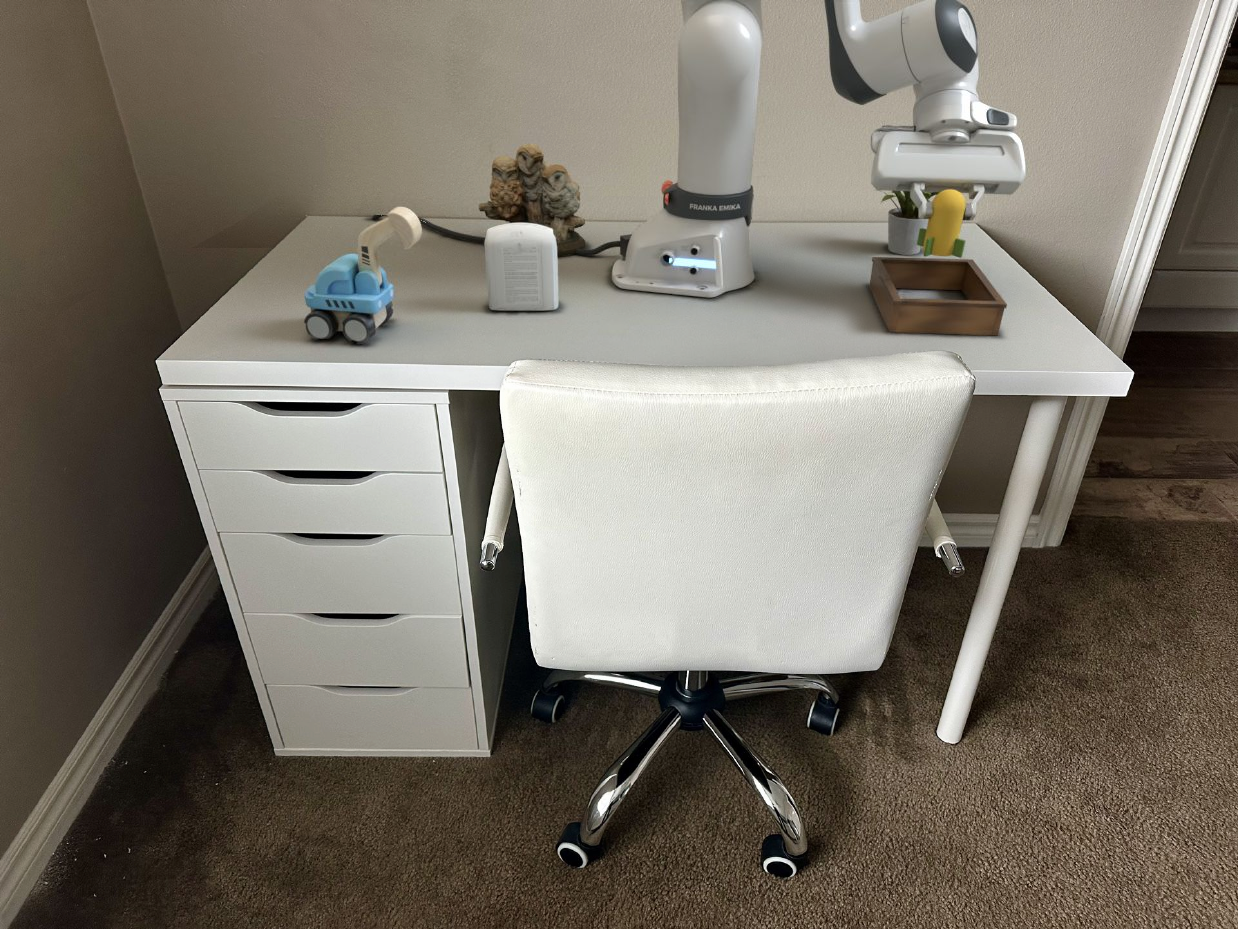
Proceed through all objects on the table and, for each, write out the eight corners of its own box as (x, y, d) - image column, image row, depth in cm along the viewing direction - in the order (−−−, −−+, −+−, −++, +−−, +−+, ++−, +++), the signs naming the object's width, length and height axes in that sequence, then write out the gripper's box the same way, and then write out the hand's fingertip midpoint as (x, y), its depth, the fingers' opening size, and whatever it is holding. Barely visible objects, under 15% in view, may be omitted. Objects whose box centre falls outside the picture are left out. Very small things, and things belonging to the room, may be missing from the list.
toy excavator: (418, 349, 116) (400, 221, 107) (301, 340, 118) (274, 214, 109) (440, 324, 123) (426, 201, 114) (329, 316, 125) (306, 195, 116)
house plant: (837, 247, 151) (850, 149, 142) (882, 230, 159) (897, 136, 150) (909, 268, 142) (928, 165, 133) (954, 249, 150) (975, 150, 141)
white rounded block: (559, 301, 130) (556, 218, 124) (559, 312, 127) (555, 227, 120) (490, 302, 130) (483, 219, 123) (487, 313, 126) (480, 228, 120)
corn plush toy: (923, 256, 121) (936, 194, 116) (916, 244, 125) (928, 184, 121) (962, 258, 121) (976, 195, 116) (953, 245, 125) (966, 185, 120)
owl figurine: (476, 257, 147) (467, 152, 137) (488, 235, 156) (479, 135, 147) (583, 259, 146) (581, 153, 137) (588, 236, 156) (586, 136, 147)
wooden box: (888, 332, 120) (893, 301, 118) (867, 285, 136) (872, 256, 133) (999, 336, 119) (1007, 304, 117) (966, 288, 134) (972, 259, 132)
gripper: (876, 111, 120) (875, 203, 117) (1028, 115, 119) (1032, 208, 116) (865, 138, 126) (865, 226, 123) (1010, 142, 125) (1013, 231, 122)
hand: (947, 217), depth 120 cm, fingers closed on corn plush toy, 4 cm apart
